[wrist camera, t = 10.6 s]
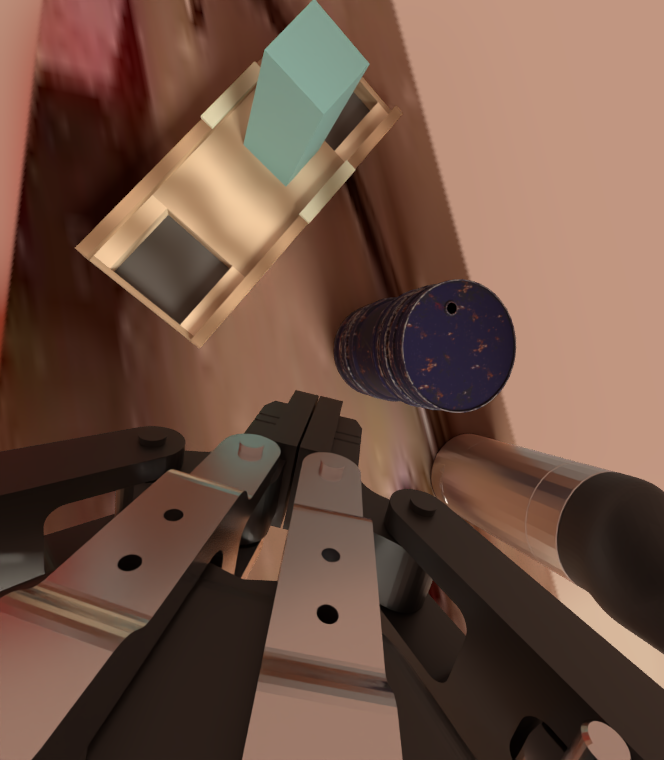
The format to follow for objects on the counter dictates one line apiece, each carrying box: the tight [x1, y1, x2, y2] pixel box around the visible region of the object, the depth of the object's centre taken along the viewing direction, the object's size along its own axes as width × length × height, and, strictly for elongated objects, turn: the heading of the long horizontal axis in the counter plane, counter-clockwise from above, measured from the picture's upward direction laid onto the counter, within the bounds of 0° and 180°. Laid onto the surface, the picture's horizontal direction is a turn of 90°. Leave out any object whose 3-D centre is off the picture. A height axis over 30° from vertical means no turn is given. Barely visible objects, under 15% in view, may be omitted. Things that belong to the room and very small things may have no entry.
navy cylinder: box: [334, 279, 516, 413], centre depth 37 cm, size 10×10×15 cm
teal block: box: [243, 0, 369, 186], centre depth 33 cm, size 5×5×12 cm
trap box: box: [75, 57, 403, 349], centre depth 38 cm, size 30×12×3 cm, turn 140°
